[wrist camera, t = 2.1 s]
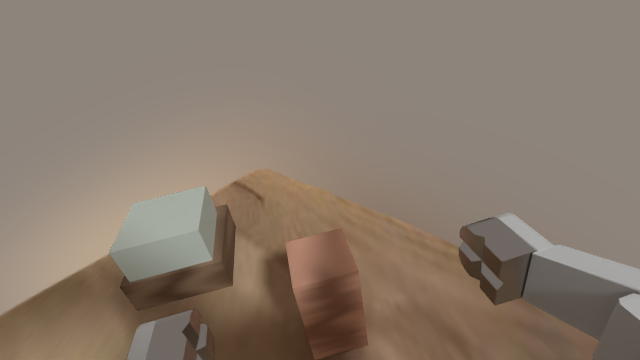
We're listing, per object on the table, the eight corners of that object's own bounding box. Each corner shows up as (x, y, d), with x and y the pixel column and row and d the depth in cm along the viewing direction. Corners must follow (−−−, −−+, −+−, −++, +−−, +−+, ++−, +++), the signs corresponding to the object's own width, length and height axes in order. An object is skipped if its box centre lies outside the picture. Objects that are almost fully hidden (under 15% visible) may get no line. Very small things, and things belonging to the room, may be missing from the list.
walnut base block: (138, 312, 36) (119, 287, 34) (160, 247, 46) (146, 223, 43) (233, 287, 37) (221, 261, 35) (236, 228, 47) (226, 204, 44)
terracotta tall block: (314, 360, 28) (292, 288, 23) (305, 312, 33) (285, 242, 27) (367, 345, 29) (358, 270, 24) (352, 300, 33) (341, 228, 28)
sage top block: (129, 282, 34) (108, 253, 32) (149, 230, 42) (133, 203, 40) (212, 260, 35) (198, 230, 33) (216, 212, 43) (205, 185, 41)
